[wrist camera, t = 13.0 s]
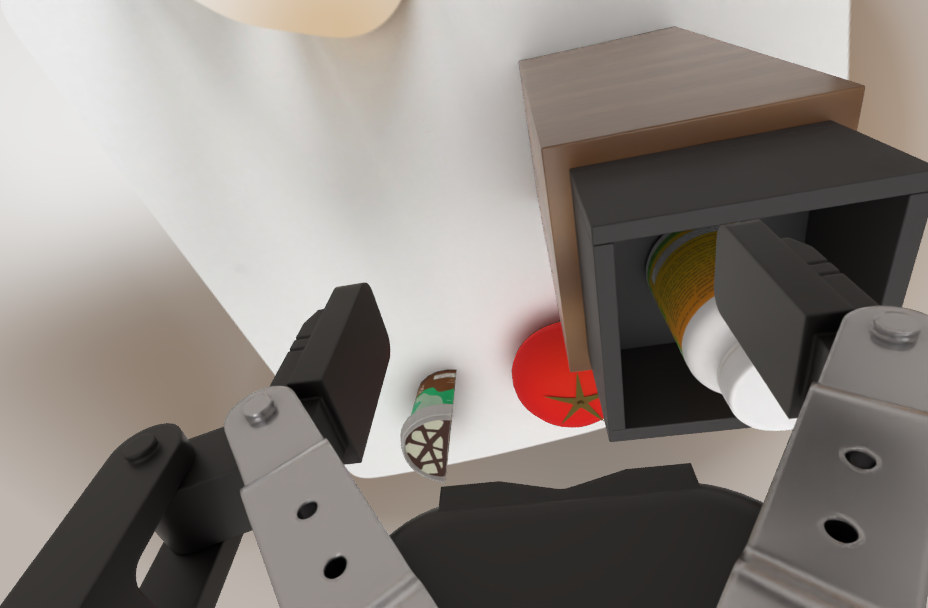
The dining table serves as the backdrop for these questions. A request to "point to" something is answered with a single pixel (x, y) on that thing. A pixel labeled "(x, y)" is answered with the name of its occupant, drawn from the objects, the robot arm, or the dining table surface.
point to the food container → (430, 426)
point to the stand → (652, 122)
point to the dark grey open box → (717, 203)
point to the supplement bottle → (708, 326)
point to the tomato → (554, 381)
